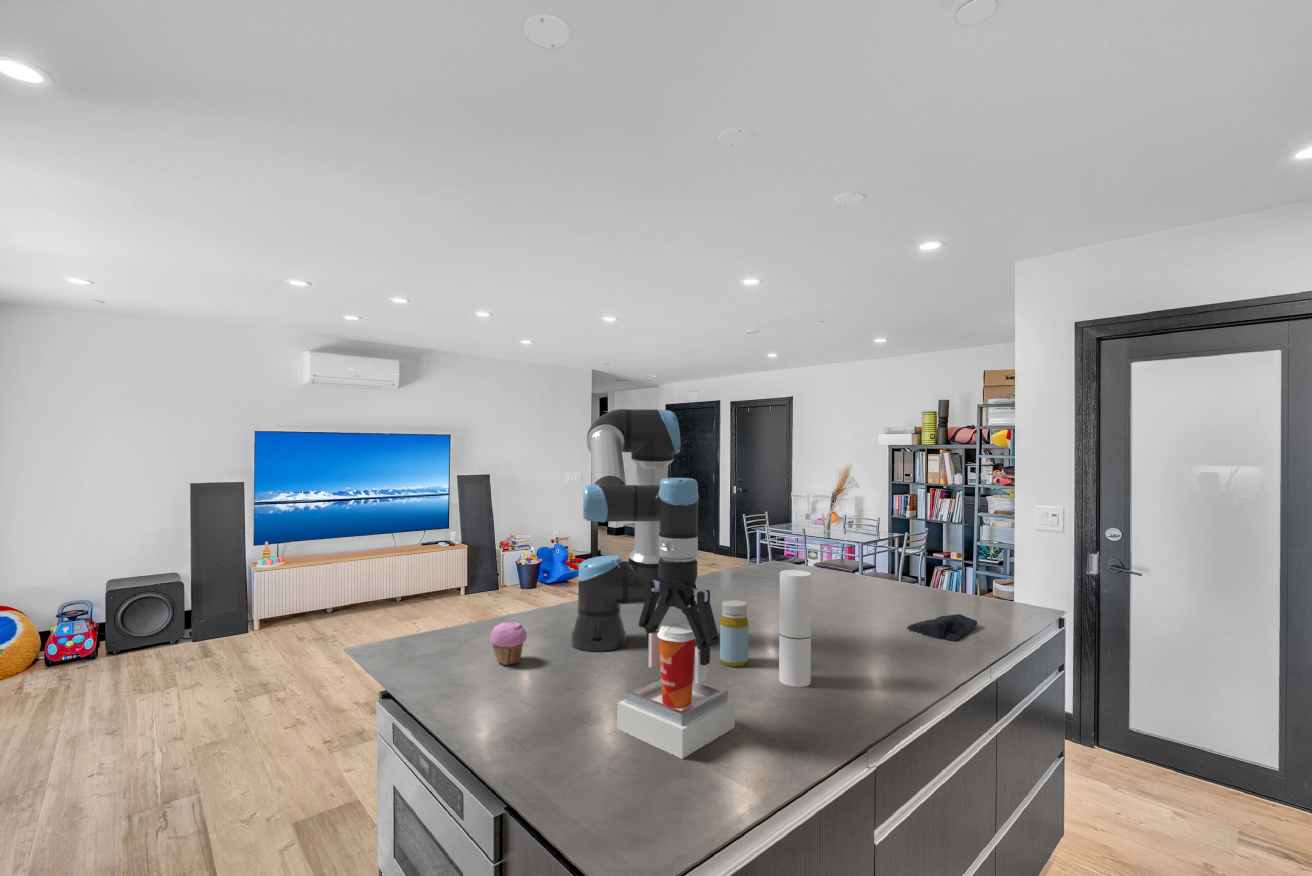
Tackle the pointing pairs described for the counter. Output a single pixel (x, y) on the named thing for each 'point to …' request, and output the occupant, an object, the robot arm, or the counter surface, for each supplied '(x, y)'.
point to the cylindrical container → (795, 628)
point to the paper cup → (676, 664)
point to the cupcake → (508, 642)
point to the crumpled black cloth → (945, 627)
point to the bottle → (734, 633)
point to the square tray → (676, 717)
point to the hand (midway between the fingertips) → (676, 672)
